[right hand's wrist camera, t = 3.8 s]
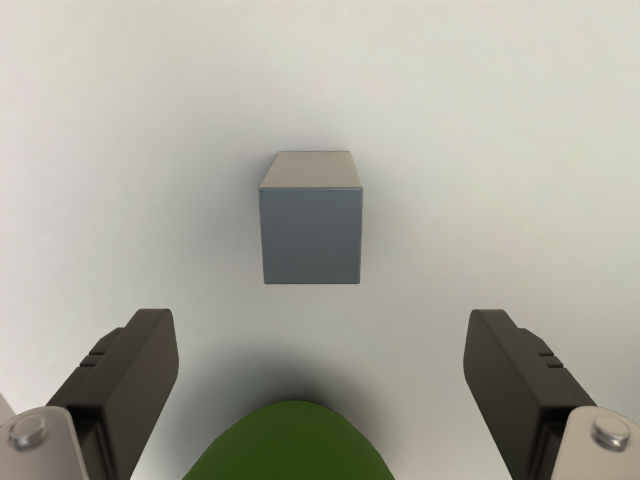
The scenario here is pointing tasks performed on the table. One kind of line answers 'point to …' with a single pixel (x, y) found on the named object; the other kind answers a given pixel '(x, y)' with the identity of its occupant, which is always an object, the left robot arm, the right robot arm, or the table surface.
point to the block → (311, 219)
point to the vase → (291, 448)
